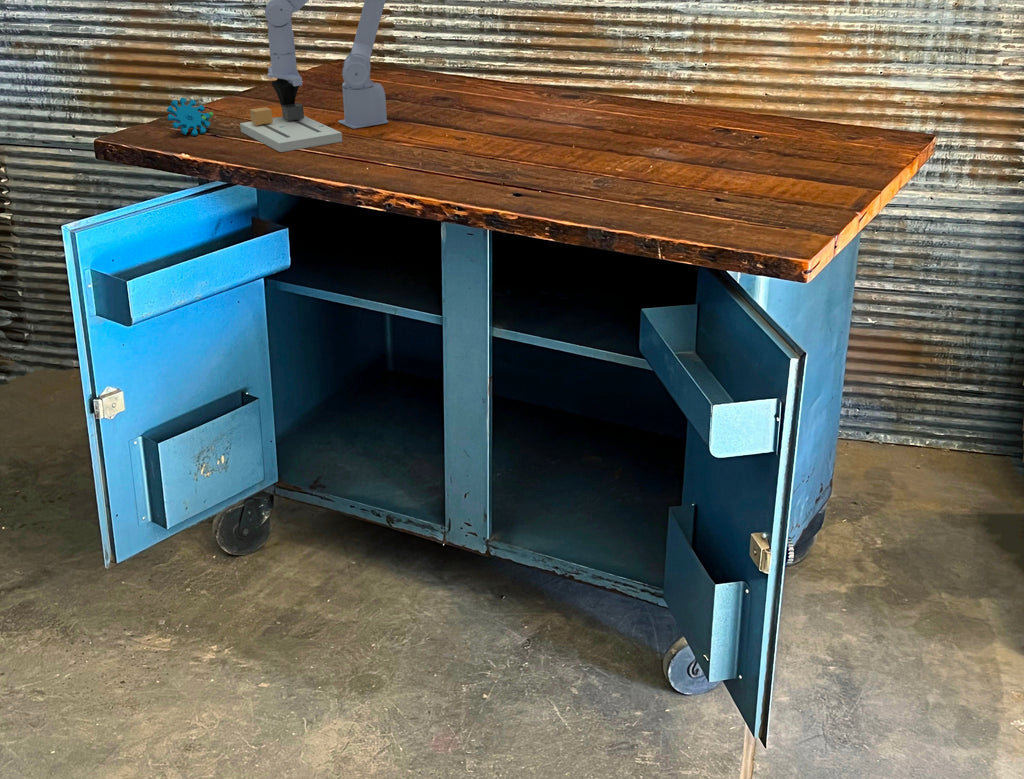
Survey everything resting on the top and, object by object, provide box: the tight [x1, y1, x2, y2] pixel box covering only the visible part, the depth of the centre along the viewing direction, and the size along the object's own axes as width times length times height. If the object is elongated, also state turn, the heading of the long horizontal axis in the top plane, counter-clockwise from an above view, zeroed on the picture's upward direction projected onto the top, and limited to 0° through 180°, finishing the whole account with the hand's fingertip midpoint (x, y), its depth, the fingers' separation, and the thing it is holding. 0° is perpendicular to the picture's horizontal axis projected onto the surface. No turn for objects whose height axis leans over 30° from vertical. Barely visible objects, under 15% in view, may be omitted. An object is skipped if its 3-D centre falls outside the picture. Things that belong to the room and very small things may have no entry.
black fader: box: [281, 102, 305, 121], centre depth 286 cm, size 4×3×3 cm
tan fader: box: [249, 106, 273, 125], centre depth 283 cm, size 4×3×3 cm
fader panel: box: [239, 115, 343, 153], centre depth 280 cm, size 15×22×2 cm
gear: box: [166, 97, 214, 137], centre depth 286 cm, size 11×6×10 cm
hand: (288, 111), depth 288 cm, fingers closed
